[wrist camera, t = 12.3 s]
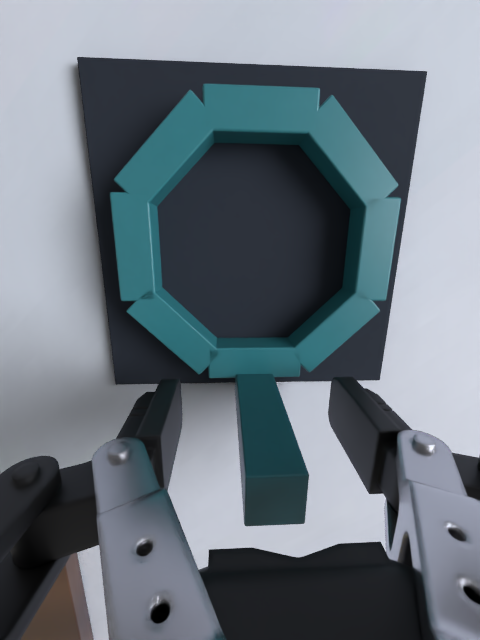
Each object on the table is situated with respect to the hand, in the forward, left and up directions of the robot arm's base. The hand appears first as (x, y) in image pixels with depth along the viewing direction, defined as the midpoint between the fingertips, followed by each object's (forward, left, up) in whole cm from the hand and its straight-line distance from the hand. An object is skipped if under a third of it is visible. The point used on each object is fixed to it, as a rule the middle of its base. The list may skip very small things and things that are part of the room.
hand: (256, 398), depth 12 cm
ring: (-6, 0, -2) cm, 6 cm away
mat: (-6, 0, -3) cm, 7 cm away
